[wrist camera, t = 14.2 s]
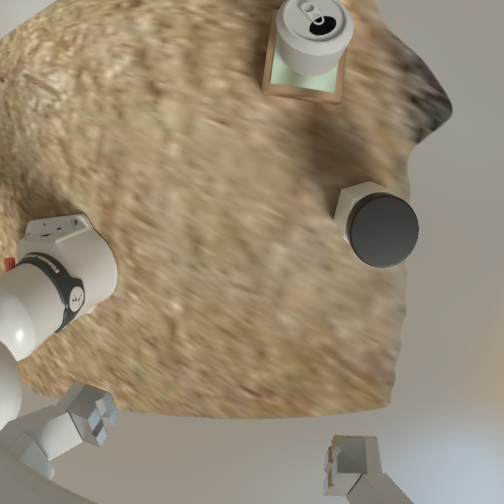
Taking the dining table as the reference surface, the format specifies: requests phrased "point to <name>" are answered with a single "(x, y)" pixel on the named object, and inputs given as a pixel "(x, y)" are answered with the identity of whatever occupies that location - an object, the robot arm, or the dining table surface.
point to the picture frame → (299, 76)
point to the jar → (376, 224)
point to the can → (313, 34)
